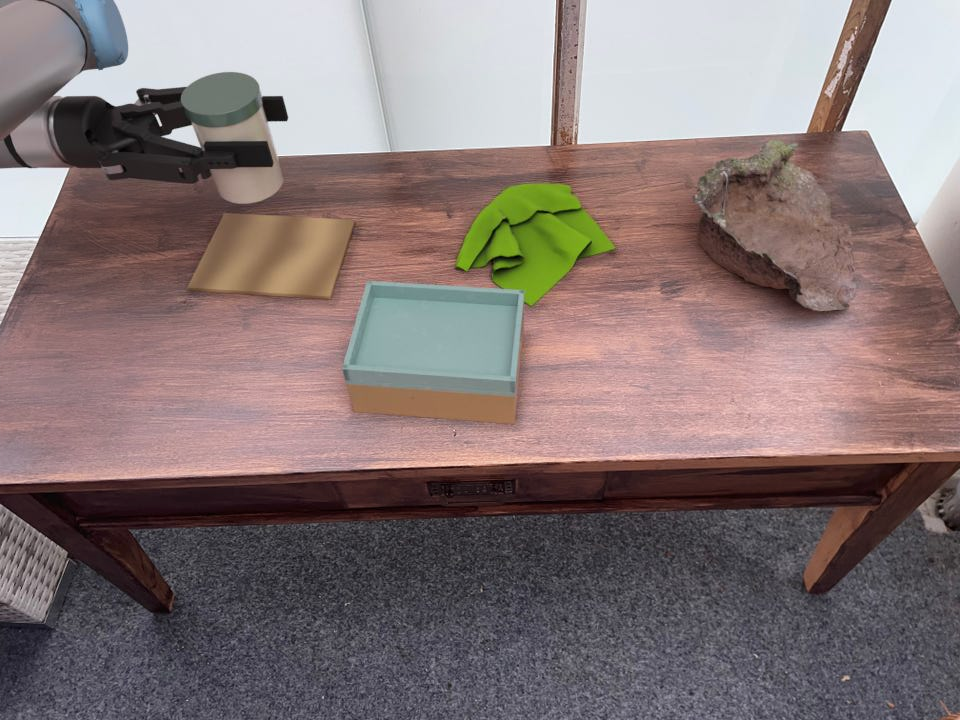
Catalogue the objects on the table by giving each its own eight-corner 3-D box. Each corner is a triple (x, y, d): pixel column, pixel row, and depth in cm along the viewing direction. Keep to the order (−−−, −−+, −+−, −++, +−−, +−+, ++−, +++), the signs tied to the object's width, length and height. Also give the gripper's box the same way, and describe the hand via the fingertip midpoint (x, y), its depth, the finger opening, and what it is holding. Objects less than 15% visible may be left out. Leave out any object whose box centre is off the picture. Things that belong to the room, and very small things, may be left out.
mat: (188, 290, 89) (187, 287, 89) (225, 216, 98) (224, 212, 97) (330, 299, 87) (330, 296, 87) (355, 223, 96) (355, 219, 96)
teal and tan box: (354, 412, 77) (341, 368, 71) (376, 326, 85) (367, 280, 79) (514, 424, 76) (515, 381, 70) (523, 335, 83) (524, 289, 77)
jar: (205, 203, 81) (168, 112, 72) (228, 160, 86) (196, 70, 77) (274, 207, 81) (245, 116, 72) (293, 163, 86) (268, 72, 77)
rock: (864, 355, 84) (918, 296, 76) (679, 320, 82) (716, 256, 75) (818, 214, 100) (859, 154, 92) (664, 183, 99) (692, 120, 91)
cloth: (572, 175, 101) (574, 161, 99) (635, 283, 88) (638, 268, 86) (430, 204, 98) (429, 190, 96) (473, 320, 85) (473, 306, 83)
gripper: (116, 109, 88) (301, 107, 87) (50, 221, 75) (267, 220, 75) (88, 51, 82) (287, 48, 81) (12, 161, 70) (246, 159, 69)
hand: (277, 130), depth 78 cm, fingers closed on jar, 8 cm apart
